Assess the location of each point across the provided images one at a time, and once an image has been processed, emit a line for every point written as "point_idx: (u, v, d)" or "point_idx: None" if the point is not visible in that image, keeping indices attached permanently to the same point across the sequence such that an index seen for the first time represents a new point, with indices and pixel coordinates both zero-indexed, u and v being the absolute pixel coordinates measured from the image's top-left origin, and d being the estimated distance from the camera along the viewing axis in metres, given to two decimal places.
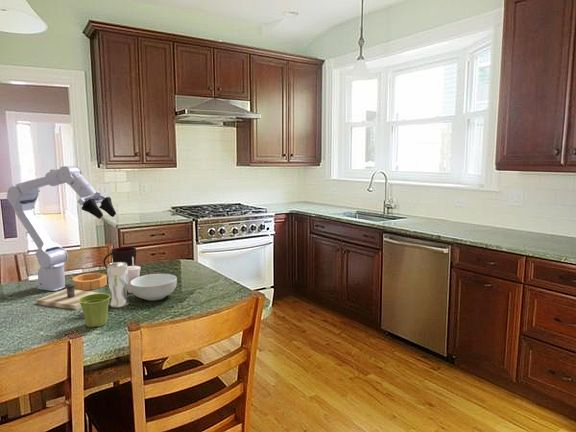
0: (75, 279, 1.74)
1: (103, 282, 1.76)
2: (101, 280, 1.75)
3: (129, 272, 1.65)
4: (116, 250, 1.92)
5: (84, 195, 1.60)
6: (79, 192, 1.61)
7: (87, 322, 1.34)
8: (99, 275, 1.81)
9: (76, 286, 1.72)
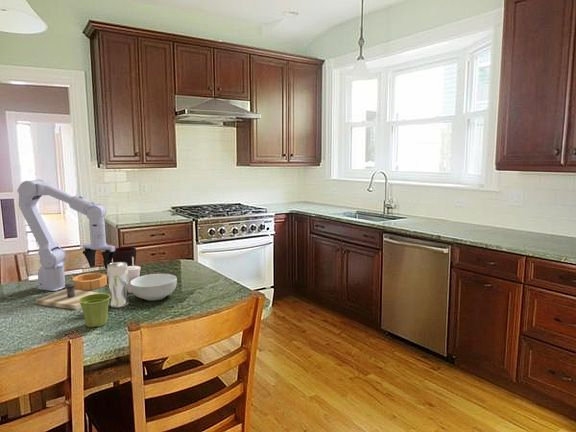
0: (75, 279, 1.74)
1: (103, 282, 1.76)
2: (101, 280, 1.75)
3: (129, 272, 1.65)
4: (116, 250, 1.92)
5: (104, 241, 1.72)
6: (102, 236, 1.71)
7: (87, 322, 1.34)
8: (99, 275, 1.81)
9: (76, 286, 1.72)
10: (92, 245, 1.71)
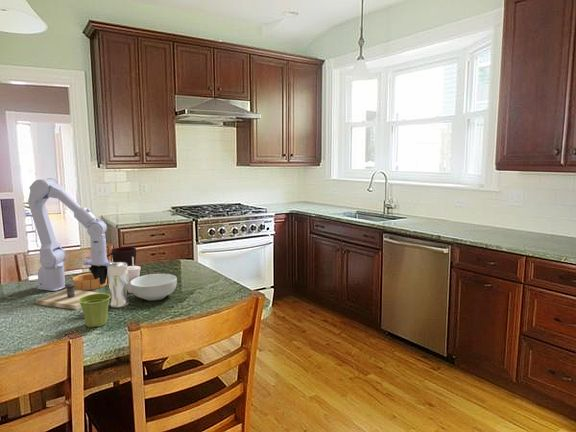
0: (75, 279, 1.74)
1: None
2: None
3: (129, 272, 1.65)
4: (116, 250, 1.92)
5: (105, 257, 1.73)
6: (103, 252, 1.72)
7: (87, 322, 1.34)
8: None
9: (76, 286, 1.72)
10: (93, 261, 1.72)
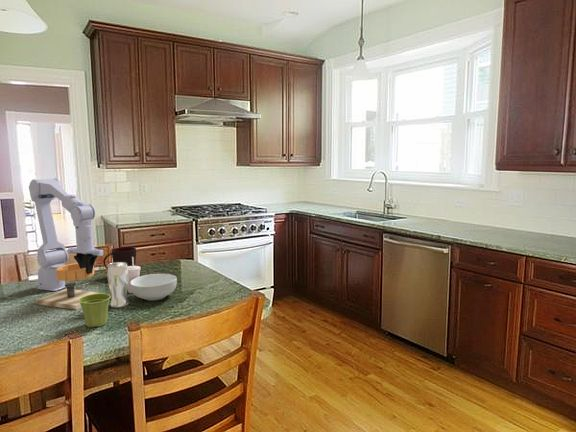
0: (59, 269, 1.59)
1: None
2: None
3: (129, 272, 1.65)
4: (116, 250, 1.92)
5: (91, 245, 1.59)
6: (89, 239, 1.58)
7: (87, 322, 1.34)
8: None
9: (60, 276, 1.57)
10: (78, 249, 1.57)
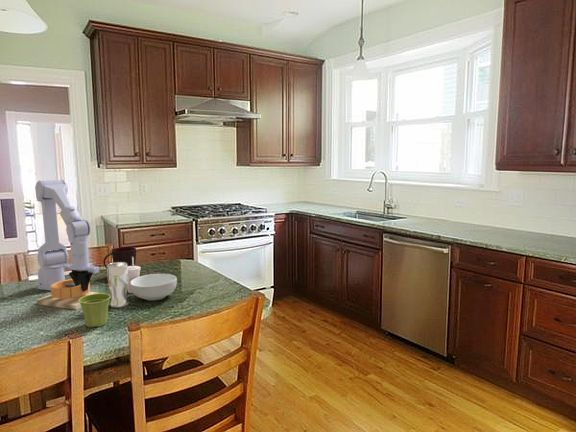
0: (54, 286, 1.55)
1: None
2: None
3: (129, 272, 1.65)
4: (116, 250, 1.92)
5: (87, 261, 1.55)
6: (84, 255, 1.54)
7: (87, 322, 1.34)
8: None
9: (55, 294, 1.53)
10: (73, 266, 1.53)
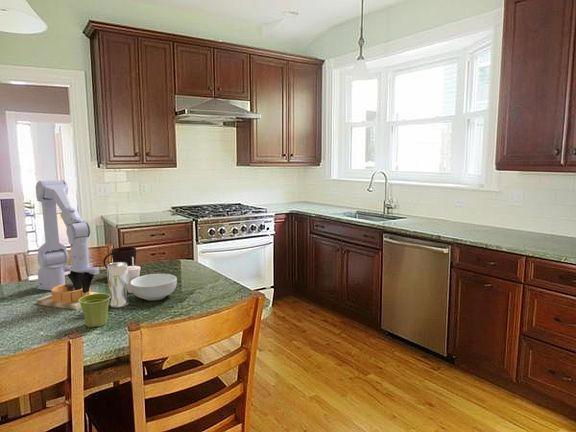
0: (54, 290, 1.55)
1: (86, 293, 1.57)
2: None
3: (129, 272, 1.65)
4: (116, 250, 1.92)
5: (87, 263, 1.55)
6: (84, 257, 1.54)
7: (87, 322, 1.34)
8: None
9: (55, 298, 1.53)
10: (73, 267, 1.53)
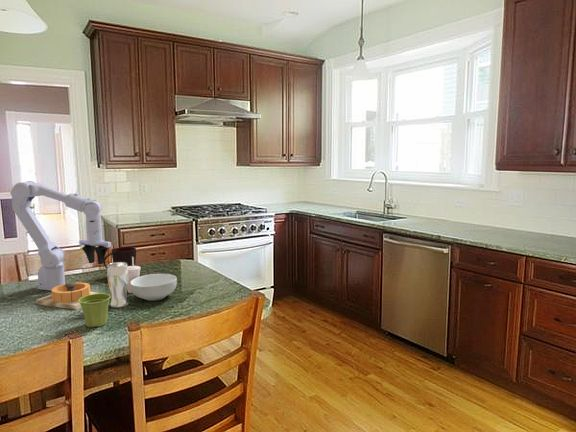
0: (54, 290, 1.55)
1: (86, 293, 1.57)
2: (84, 291, 1.56)
3: (129, 272, 1.65)
4: (116, 250, 1.92)
5: (100, 237, 1.74)
6: (98, 232, 1.73)
7: (87, 322, 1.34)
8: (82, 285, 1.63)
9: (55, 298, 1.53)
10: (88, 241, 1.72)
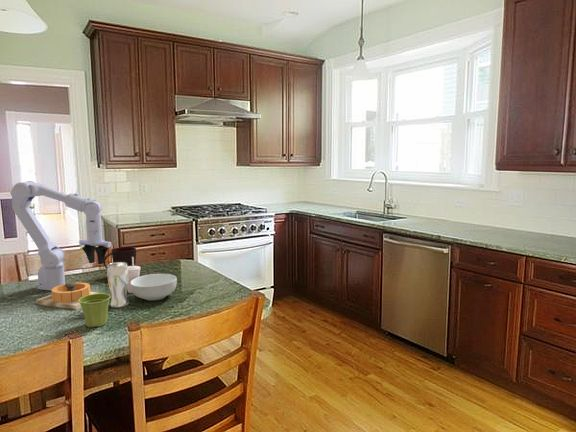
0: (54, 290, 1.55)
1: (86, 293, 1.57)
2: (84, 291, 1.56)
3: (129, 272, 1.65)
4: (116, 250, 1.92)
5: (100, 237, 1.74)
6: (98, 232, 1.73)
7: (87, 322, 1.34)
8: (82, 285, 1.63)
9: (55, 298, 1.53)
10: (89, 241, 1.72)
